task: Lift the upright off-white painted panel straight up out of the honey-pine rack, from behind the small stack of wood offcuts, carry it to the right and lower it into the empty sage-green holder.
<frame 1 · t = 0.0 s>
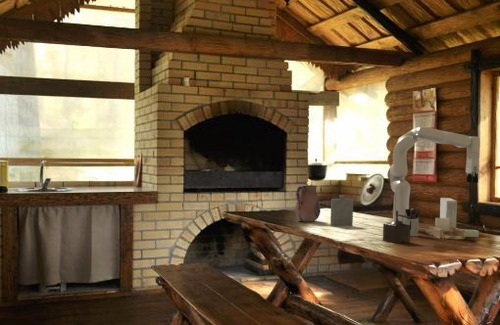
hand: (472, 182, 363), 31 cm above the table, tool pointing down, fingers open, 9 cm apart
packaging: (447, 230, 364), on the table
rack: (444, 235, 334), on the table
hip flask: (341, 226, 371), on the table
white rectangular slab: (441, 235, 338), resting in rack
offcut oak: (447, 237, 329), resting in rack, touching offcut walnut
holder: (466, 235, 337), on the table
ceramic pitcher: (306, 221, 391), on the table
offcut walnut: (447, 234, 329), point 2 cm above the table, touching offcut oak
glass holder: (408, 235, 331), on the table
dark brown coffee grinder: (400, 241, 304), on the table
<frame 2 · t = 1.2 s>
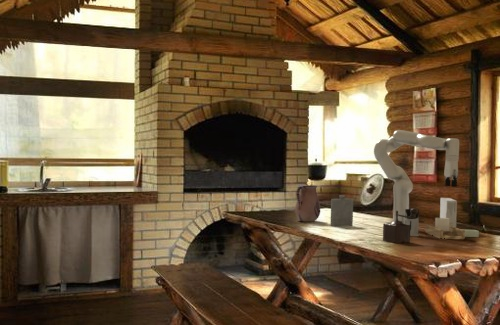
hand: (450, 186, 348), 29 cm above the table, tool pointing down, fingers open, 9 cm apart
nothing on the table moved.
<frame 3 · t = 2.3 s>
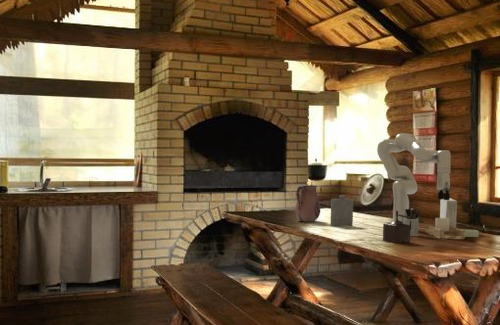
hand: (443, 199, 338), 21 cm above the table, tool pointing down, fingers open, 9 cm apart
nothing on the table moved.
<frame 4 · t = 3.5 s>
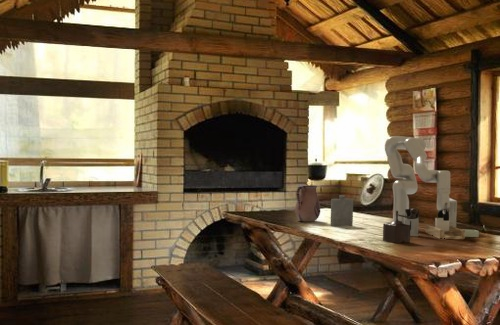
hand: (443, 219, 338), 9 cm above the table, tool pointing down, fingers open, 9 cm apart
nothing on the table moved.
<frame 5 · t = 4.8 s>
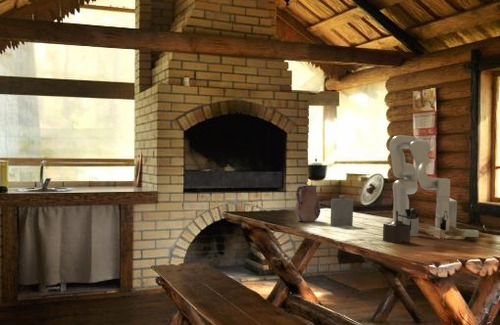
hand: (442, 229, 338), 3 cm above the table, tool pointing down, fingers closed on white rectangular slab, 2 cm apart
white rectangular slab: (441, 234, 338), resting in rack, touching gripper
offcut oak: (447, 237, 329), resting in rack
offcut walnut: (448, 234, 329), point 2 cm above the table
everything else where it was.
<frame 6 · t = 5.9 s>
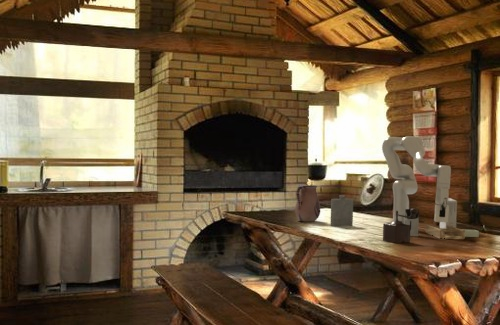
hand: (441, 216, 339), 11 cm above the table, tool pointing down, fingers closed on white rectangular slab, 2 cm apart
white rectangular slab: (440, 221, 339), point 8 cm above the table, touching gripper
offcut oak: (447, 237, 329), resting in rack, touching offcut walnut
offcut walnut: (447, 234, 329), point 2 cm above the table, touching offcut oak
everything else where it was.
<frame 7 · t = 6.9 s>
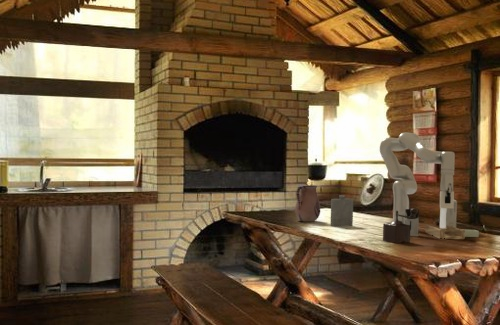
hand: (446, 202, 338), 19 cm above the table, tool pointing down, fingers closed on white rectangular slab, 2 cm apart
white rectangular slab: (446, 208, 338), point 16 cm above the table, touching gripper
everything else where it was.
when the fingers open (5 cm above the table, at t = 9.5 s): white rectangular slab drops 1 cm, resting in holder.
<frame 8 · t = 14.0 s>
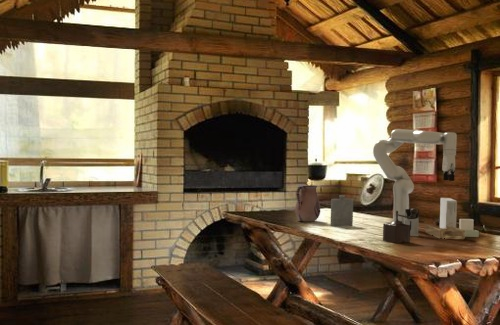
hand: (448, 180, 347), 32 cm above the table, tool pointing down, fingers open, 9 cm apart
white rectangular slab: (466, 236, 337), resting in holder
offcut oak: (448, 237, 329), resting in rack
offcut walnut: (448, 234, 329), point 2 cm above the table
everything else where it was.
at the end: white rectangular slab 0.1 cm off-centre on the holder, point 0.0 cm above the holder's base; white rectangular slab tilted 0°; the gripper is holding nothing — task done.
